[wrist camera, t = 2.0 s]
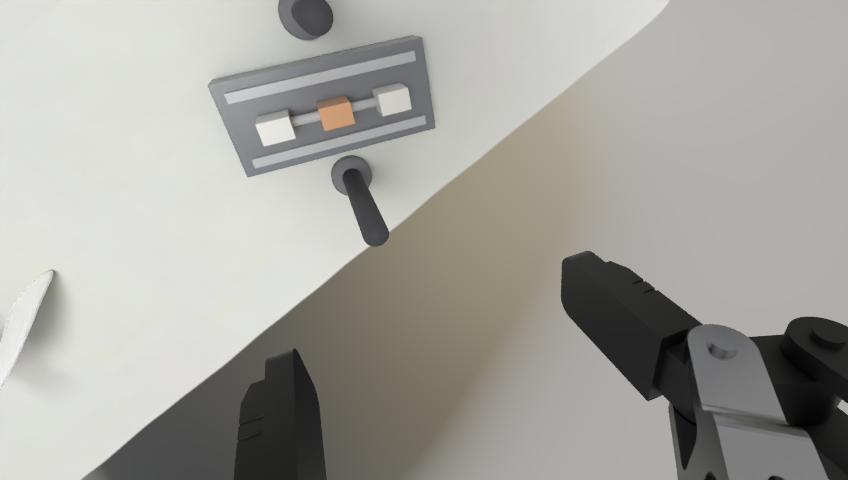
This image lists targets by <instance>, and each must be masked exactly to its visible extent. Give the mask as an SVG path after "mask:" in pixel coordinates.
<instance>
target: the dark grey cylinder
mask: <svg viewBox="0 0 848 480" xmlns="http://www.w3.org/2000/svg"><path fill="white" fill-rule="evenodd" d="M278 11H279V17H280V20H281V22H282V24H283V26H284V27H285V29H286V30H287V31H288V32H289V33H290V34H292V35H293V36H295V37H296V38H299V39H302V40H312V39H315V38H317V37H319V36H321V35H324V34H326V33H327V32H328V31H329V30H330V28H331V26H332V23H333V13H332V10H331V8H330V6H329V5H328V3H327V2H326V1H325V0H279V6H278Z"/></svg>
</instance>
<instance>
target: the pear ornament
mask: <svg viewBox="0 0 848 480" xmlns="http://www.w3.org/2000/svg"><path fill="white" fill-rule="evenodd" d="M52 277H53V271H51V270H49V271H46V272H45V273H43V274H41V275H40V276H39V277H38V278H37V279H35V280H34V281H33V282H32V283H31V284H30V285H29V286H28V287H27V288H26V289H25V290H24V291H23V292H22V293H21V294H20V296H19V297H18V298H17V300H16V302H15V304H14V306H13V308H12V310H11V312H10V315H9V318H8V321H7V324H6V326H5V329H4V332H3V335H2V338H1V341H0V390H1V388H2V387H3V385H4V383H5V382H6V380H7V379H8V377H9V376H10V374H11V372H12V370H13V368H14V366H15V364H16V362H17V360H18V357H19V355H20V353H21V351H22V348H23V346H24V344H25V342H26V339H27V337H28V334H29V332H30V329H31V327H32V324H33V322H34V319H35V317H36V314H37V312H38V309H39V307H40V304H41V302H42V299H43V297H44V295H45V293H46V290H47V288H48V286H49V284H50V282H51V279H52Z"/></svg>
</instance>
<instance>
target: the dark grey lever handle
mask: <svg viewBox="0 0 848 480" xmlns="http://www.w3.org/2000/svg"><path fill="white" fill-rule="evenodd" d="M331 177H332V181H333V184H334V186H335V188H336V189H337V190H338V191H339V192H340V193H342V194H344V195H348V197H349V199H350V202H351V205H352V208H353V211H354V213H355V216H356V219H357V222H358V225H359V227H360V230H361V233H362V236H363V238H364V241H365V242H366V243H367V244H368V245H370V246H380V245H382V244H384V243H385V242H386V241H387V239H388V237H389V231H388V228H387V226H386V224H385V222H384V220H383V218H382V216H381V214H380V212H379V210H378V208H377V205H376V203H375V201H374V199H373V197H372V195H371V193H370V191H369V189H368V187H369V185H370V183H371V178H372V175H371V171H370V169H369V167H368V165H367V163H366V162H365V161H364V160H363V159H361V158H359V157H357V156H345V157H342V158H341V159H339V160H338V161H337V162H336V163H335V164H334V166H333V168H332V172H331Z"/></svg>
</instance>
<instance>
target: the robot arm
mask: <svg viewBox="0 0 848 480" xmlns="http://www.w3.org/2000/svg"><path fill="white" fill-rule="evenodd" d="M561 283H562V284H561V301H562V304H563V307H564V309H565V311H566V313H567V314H568V316H569V317H570V318H571V319H572V320H573V321H574V322H575V323H576V324H577V326H578V327H579V328H580V329H581V330H582V331H583V332H584V333H585V334H586V335H587V336H588V337H589V338H590V340H591V341H592V342H593V343H594V344H595V345H596V346H597V347H598V348H599V349H600V350H601V351H602V353H603V354H604V355H605V356H606V357H607V358H608V359H609V360H610V361H611V362H612V363H613V364H614V365H615V367H616V368H618V370H619V371H620V372H621V373H622V374H623V375H624V376H625V377H626V378H627V379H628V381H629V382H630V383H631V384H632V385H633V386H634V387H635V388H636V389H637V390H638V391H639V392H640V394H641V395H643V397H644V398H645V399H646V400H647V401H650V400H652V399H655V398H657V397H659V396H661V395H664V397H666V399H667V400H668V401H669V402H670V403H669V407H668V408H669V418H670V425H671V431H672V438H673V446H674V453H675V460H676V467H677V475H678V480H828V479H829V480H848V415H847V414H845V413H844V412H843V411H842V410H840V409H839V408H838V407H837V406H838V405H839V403H840V402H841V400H844V401H845V402H846V403H848V327H847V326H845V325H843V324H840V323H838V322H835V321H831V320H828V319H824V318H818V317H800V318H797V319H794V320H792V321H791V322H790V323H789V325H788V327H787V329H786V331H785V333H784V335H772V336H758V337H747V336H745V335H744V334H742V333H741V332H739V331H736V330H734V329H732V328H729V327H726V326H721V325H714V324H705V325H703V324H702V323H700V322H699V321H697V320H696V319H695V318H694V317H692V316H691V315H689V314H688V313H687V312H686V311H684V310H683V309H682V308H680V307H679V306H678V305H676V304H675V303H674V302H672V301H671V300H670V299H668V298H667V297H666V296H665V295H663V294H662V293H660V292H659V291H658V290H657V291H655V289H654V287H652V286H651V285H650V284H649V283H647V282H646V281H645V282H644V281H643V279H642V278H641V277H639V276H638V275H637V274H635V273H634V272H633V271H631V270H630V269H628V268H626V267H624V266H621V265H619V264H616V263H613V262H611V261H609V262H604V261H603V260H602V259H600V258H599V257H598V256H596V255H595V254H594V253H592V252H590V251H585V252H582V253H579V254H576V255H573V256H570V257H567V258H565V259H564V260H563V262H562V279H561ZM239 424H240V427H239V429H238V443H237V450H236V459H235V470H234V480H327V479H326V469H325V459H324V448H323V439H322V429H321V418H320V408H319V401H318V397H317V393H316V390H315V387H314V384H313V382H312V380H311V378H310V376H309V374H308V372H307V369H306V367H305V365H304V363H303V361H302V359H301V357H300V355H299V353H298V351H297V350H296V349H291V350H288V351H285V352H282V353H279V354H276V355H273V356H270V357H267V358H266V363H265V380H262V381H259V382H256V383H253V384H251V385H250V387H249V389H248V391H247V393H246V395H245V397H244V399H243V401H242V403H241V408H240V418H239Z"/></svg>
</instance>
